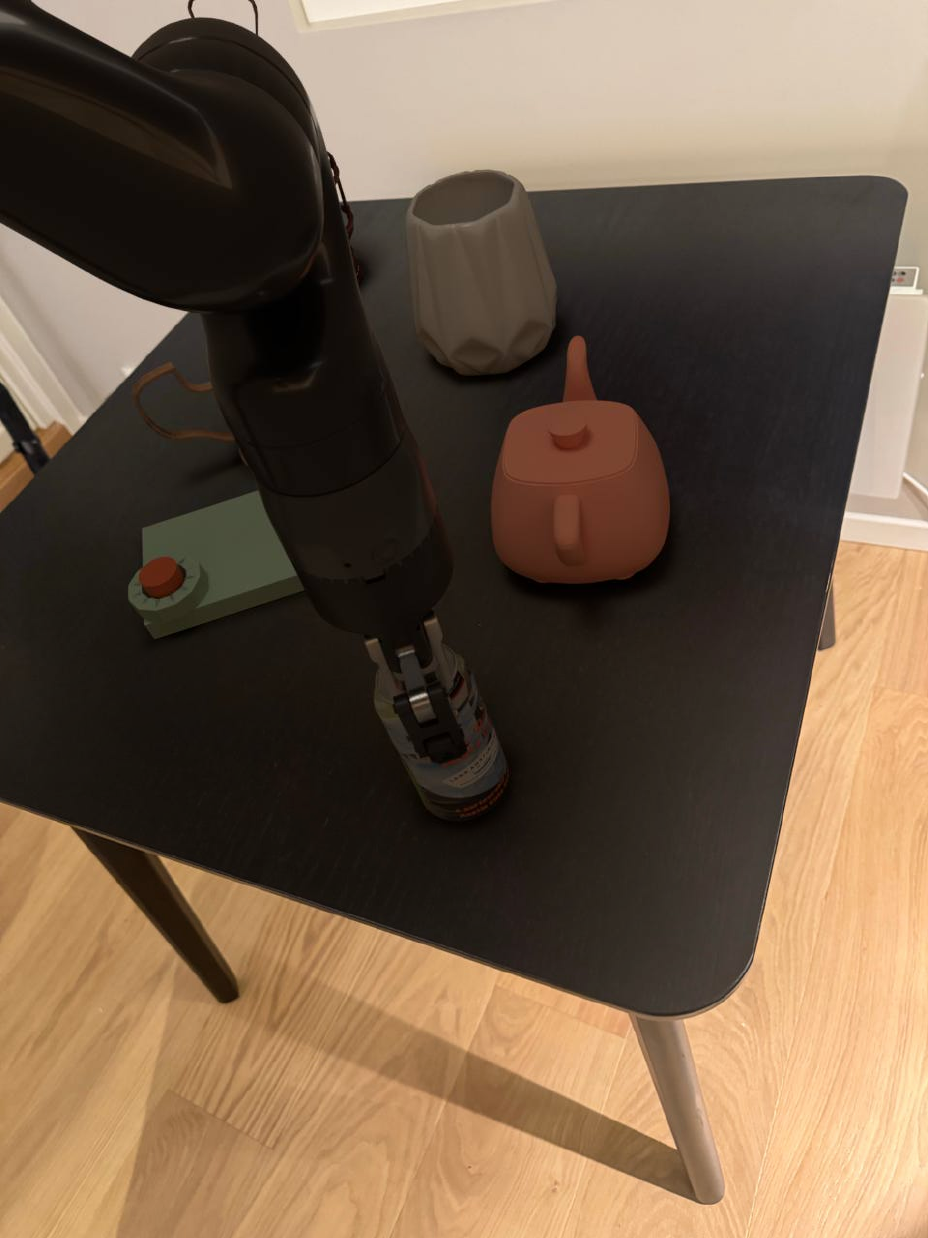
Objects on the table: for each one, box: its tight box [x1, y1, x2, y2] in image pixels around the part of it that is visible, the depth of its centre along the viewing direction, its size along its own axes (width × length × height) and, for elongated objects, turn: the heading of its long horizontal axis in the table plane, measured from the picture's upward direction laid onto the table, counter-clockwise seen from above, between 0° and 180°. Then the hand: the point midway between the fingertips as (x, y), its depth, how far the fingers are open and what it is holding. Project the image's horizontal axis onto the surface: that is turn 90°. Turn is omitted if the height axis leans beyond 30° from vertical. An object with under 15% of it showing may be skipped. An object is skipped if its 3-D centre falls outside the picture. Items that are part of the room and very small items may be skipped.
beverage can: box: [373, 641, 511, 822], centre depth 57 cm, size 6×7×12 cm
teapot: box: [490, 335, 671, 585], centre depth 69 cm, size 13×20×12 cm, turn 173°
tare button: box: [139, 557, 184, 599], centre depth 75 cm, size 3×3×2 cm
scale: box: [127, 490, 305, 640], centre depth 79 cm, size 14×13×4 cm
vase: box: [404, 169, 558, 377], centre depth 87 cm, size 14×14×15 cm
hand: (436, 709), depth 56 cm, fingers closed on beverage can, 6 cm apart
